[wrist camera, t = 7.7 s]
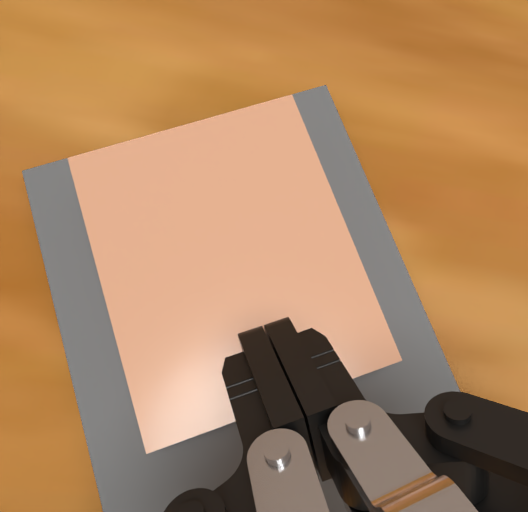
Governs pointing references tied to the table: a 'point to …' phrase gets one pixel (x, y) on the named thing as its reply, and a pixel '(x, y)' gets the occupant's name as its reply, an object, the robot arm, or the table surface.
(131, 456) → the mat
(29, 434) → the table surface
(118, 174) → the tile
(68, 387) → the table surface
